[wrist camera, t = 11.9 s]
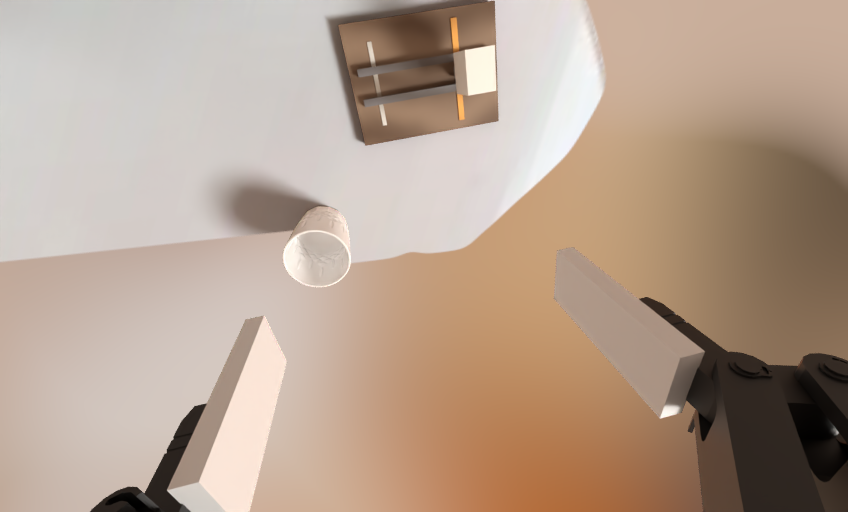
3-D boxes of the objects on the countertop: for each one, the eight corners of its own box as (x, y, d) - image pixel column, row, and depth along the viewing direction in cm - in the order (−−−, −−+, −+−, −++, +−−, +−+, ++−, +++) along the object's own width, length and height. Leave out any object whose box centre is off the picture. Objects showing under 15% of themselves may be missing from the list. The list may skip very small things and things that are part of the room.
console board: (338, 26, 38) (337, 23, 36) (490, 3, 39) (497, -2, 37) (365, 143, 44) (365, 147, 42) (494, 119, 46) (501, 121, 43)
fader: (444, 55, 39) (464, 50, 32) (469, 51, 39) (494, 45, 32) (448, 92, 41) (468, 95, 34) (471, 88, 41) (496, 90, 34)
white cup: (298, 251, 50) (286, 288, 41) (293, 201, 46) (278, 229, 37) (352, 251, 51) (351, 286, 43) (351, 202, 48) (349, 230, 39)
